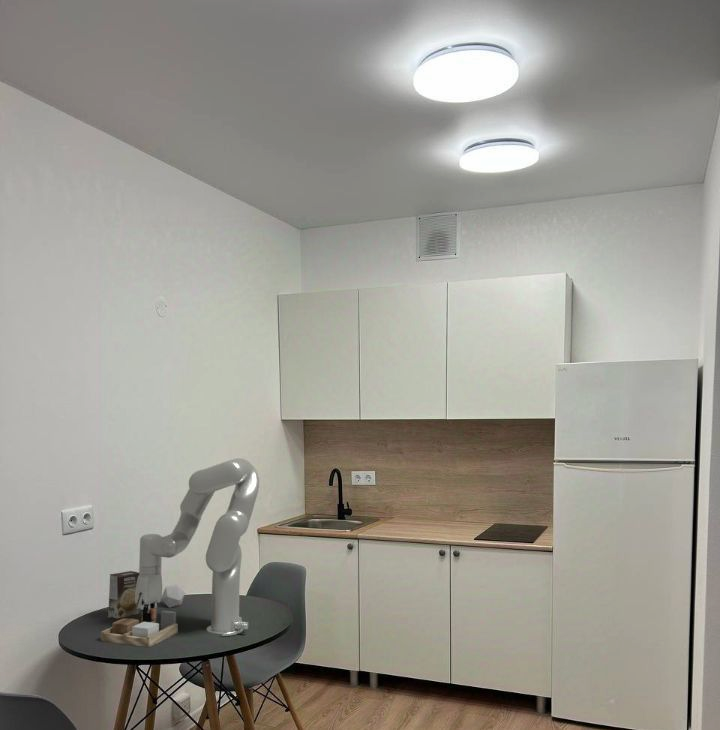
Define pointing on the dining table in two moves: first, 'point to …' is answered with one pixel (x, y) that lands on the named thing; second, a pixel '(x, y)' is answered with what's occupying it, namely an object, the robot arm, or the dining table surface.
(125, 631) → the walnut block
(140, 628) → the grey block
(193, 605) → the dining table surface
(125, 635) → the lane shelf
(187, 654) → the dining table surface
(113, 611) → the coffee box
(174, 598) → the die
